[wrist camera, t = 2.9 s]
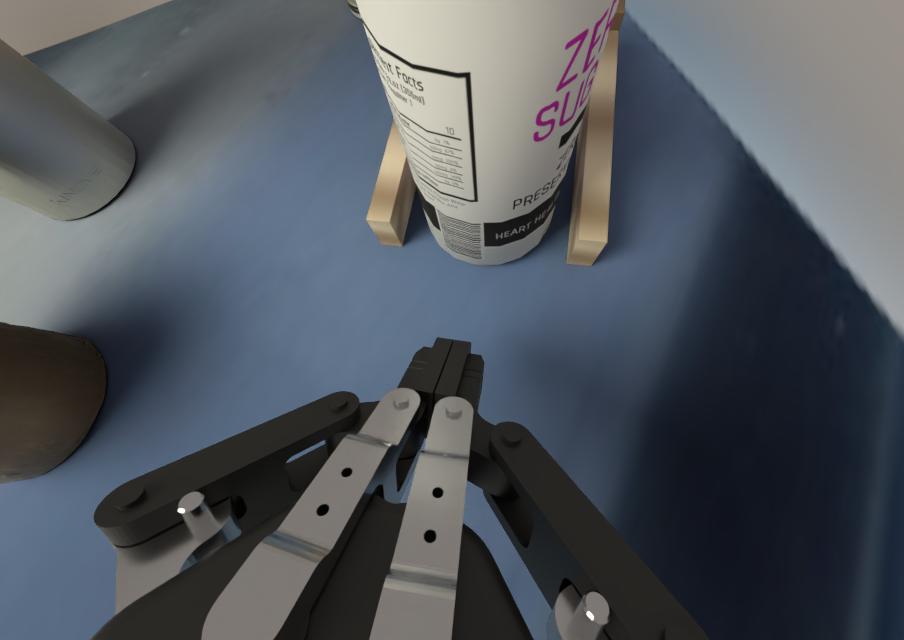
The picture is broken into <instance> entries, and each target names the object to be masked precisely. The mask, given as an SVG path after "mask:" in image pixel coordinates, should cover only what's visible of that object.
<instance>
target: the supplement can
mask: <svg viewBox="0 0 904 640" xmlns="http://www.w3.org/2000/svg"><path fill="white" fill-rule="evenodd" d="M356 3H357V6H358V9H359V12H360V15H361V18H362V22H363V25H364V28H365V31H366V34H367V37H368V40H369V43H370V46H371V49H372V52H373V55H374V58H375V62H376V65H377V68H378V71H379V74H380V77H381V80H382V83H383V86H384V89H385V92H386V95H387V98H388V102H389V105H390V108H391V111H392V114H393V117H394V120H395V123H396V126H397V129H398V132H399V135H400V139H401V142H402V145H403V148H404V151H405V154H406V157H407V160H408V163H409V166H410V169H411V172H412V175H413V179H414V182H415V185H416V188H417V191H418V194H419V197H420V200H421V203H422V206H423V209H424V212H425V215H426V219H427V222H428V225H429V228H430V230H431V232H432V234H433V235H434V237H435V239H436V241H437V242H438V244H439V246H440V247H442V248H443V249H444V250H445V251H447V252H448V253H449V254H451V255H452V256H453V257H454V258H456V259H459V260H462V261H465V262H468V263H471V264H474V265H500V264H503V263H506V262H509V261H512V260H515V259H518V258H521V257H522V256H523V255H525V254H526V253H527V252H529V251H530V250H531V249H533V248H534V247H535V246H537V245H538V243H539V242H540V240H541V239H542V237H543V236H544V234H545V232H546V231H547V229H548V228H549V225H550V222H551V218H552V215H553V212H554V209H555V206H556V202H557V199H558V196H559V193H560V189H561V186H562V183H563V180H564V177H565V173H566V170H567V167H568V164H569V161H570V157H571V154H572V151H573V148H574V144H575V141H576V138H577V135H578V132H579V128H580V125H581V122H582V119H583V115H584V112H585V109H586V106H587V103H588V99H589V96H590V93H591V90H592V86H593V83H594V80H595V77H596V74H597V70H598V67H599V64H600V61H601V57H602V54H603V51H604V48H605V45H606V41H607V38H608V35H609V32H610V28H611V25H612V22H613V19H614V16H615V12H616V9H617V6H618V3H619V0H356Z"/></svg>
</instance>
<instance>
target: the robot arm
mask: <svg viewBox="0 0 904 640" xmlns="http://www.w3.org/2000/svg"><path fill="white" fill-rule="evenodd" d="M134 163H135V148H134V146H133V143H132V141H131V140H130V139H129V138H128V137H127V136H126V135H125V134H123V133H122V132H121V131H120V130H118V129H117V128H116V127H114V126H113V125H112V124H110V123H109V122H108V121H107V120H105V119H104V118H103V117H101V116H100V115H99V114H97V113H96V112H95V111H94V110H92V109H91V108H90V107H88V106H87V105H86V104H84V103H83V102H82V101H81V100H79V99H78V98H77V97H75V96H74V95H73V94H72V93H70V92H69V91H68V90H67V89H65V88H64V87H63V86H61V85H60V84H59V83H57V82H56V81H55V80H54V79H52V78H51V77H50V76H48V75H47V74H46V73H44V72H43V71H42V70H41V69H39V68H38V67H37V66H35V65H34V64H33V63H31V62H30V61H29V60H28V59H26V58H25V57H24V56H22V55H21V54H20V53H18V52H17V51H16V50H15V49H13V48H12V47H11V46H9V45H8V44H7V43H5V42H4V41H3V40H1V39H0V195H1V196H3V197H5V198H7V199H10V200H12V201H14V202H16V203H19V204H21V205H23V206H25V207H28V208H30V209H32V210H34V211H37V212H39V213H41V214H43V215H46V216H48V217H50V218H53V219H57V220H71V219H77V218H80V217H83V216H86V215H88V214H90V213H93V212H95V211H97V210H98V209H100V208H101V207H103V206H104V205H106V204H107V203H108V202H109V201H110V200H112V199H113V198H114V197H115V196H116V195H117V194H118V193H119V191H120V190H121V189H122V188H123V187H124V185H125V184H126V182H127V180H128V179H129V177H130V175H131V173H132V170H133V168H134ZM483 372H484V361H483V359H482V356H481V355H476V354H471V342H466V341H459V340H452V339H445V338H438V337H437V339H436V341H435V343H434V345H433V347H432V348H429V347H423V348H422V349H420V350H419V351H417V352H416V353H415V355H414V357H413V359H412V362H411V363H410V365H409V368H407V370H406V372H405V374H404V376H403V378H402V380H401V382H400V384H399V385H398V387H397V389H393V390H391V391H389V392H388V393H386V394H385V395H384V397H383V398H382V400H381V401H376V402H364V403H359V398H358V397H357V396H356V395H355V394H353V393H351V392H346V391H341V392H336V393H332V394H330V395H328V396H325V397H323V398H321V399H318V400H316V401H314V402H311V403H309V404H307V405H304V406H302V407H300V408H297V409H295V410H293V411H290V412H288V413H286V414H283V415H281V416H279V417H277V418H274V419H272V420H270V421H267V422H265V423H263V424H260V425H258V426H256V427H253V428H251V429H249V430H246V431H244V432H242V433H239V434H237V435H235V436H232V437H230V438H228V439H225V440H223V441H221V442H219V443H216V444H214V445H212V446H209V447H207V448H205V449H202V450H200V451H198V452H195V453H193V454H191V455H188V456H186V457H184V458H181V459H179V460H177V461H174V462H172V463H170V464H167V465H165V466H163V467H160V468H158V469H156V470H154V471H151V472H149V473H147V474H144V475H142V476H140V477H137V478H135V479H133V480H130V481H128V482H126V483H124V484H123V485H121V486H119V487H118V488H116V489H115V490H113V491H112V492H111V493H110V494H109V495H107V496H106V497H105V498H104V499H103V500H102V502H101V503H100V504H99V505H98V507H97V509H96V511H95V513H94V522H95V523H96V525H97V526H98V527H99V528H100V529H101V530H102V532H103V533H104V534H105V535H106V536H107V537H108V538H109V543H110V544H111V545H112V546H113V548H114V549H115V550H116V551H117V575H116V612H115V616H114V617H113V618H112V619H111V620H110V621H108V622H107V623H106V624H105V625H104V626H103V627H102V628H101V629H100V630H99V631H98V632H97V633H96V634H95V635H94V636H93V637H92V638H91V639H90V640H534V639H533V637H532V635H531V633H530V631H529V629H528V627H527V625H526V623H525V621H524V619H523V617H522V615H521V613H520V611H519V609H518V607H517V605H516V603H515V601H514V599H513V597H512V595H511V593H510V591H509V589H508V587H507V585H506V583H505V580H504V578H503V576H502V574H501V572H500V570H499V568H498V566H497V564H496V562H495V560H494V558H493V556H492V554H491V553H490V551H489V549H488V548H487V546H486V545H485V543H484V542H483V541H482V540H481V538H480V537H479V536H478V535H477V534H476V533H475V532H474V531H473V530H472V529H470V528H469V527H468V526H466V525H465V524H463V514H464V504H465V493H466V483H467V480H468V481H469V482H471V483H473V484H475V485H476V486H478V487H480V488H482V489H483V493H484V496H485V498H486V500H487V502H488V503H489V505H490V507H491V508H492V510H493V512H494V513H495V515H496V517H497V518H498V520H499V522H500V523H501V525H502V527H503V528H504V530H505V532H506V533H507V535H508V537H509V538H510V540H511V542H512V543H513V545H514V547H515V548H516V550H517V552H518V553H519V555H520V557H521V559H522V560H523V562H524V564H525V565H526V567H527V569H528V570H529V572H530V574H531V575H532V577H533V579H534V580H535V582H536V584H537V585H538V587H539V589H540V590H541V592H542V594H543V595H544V597H545V599H546V600H547V602H548V604H549V605H550V607H551V609H552V612H551V614H550V617H549V619H548V623H547V640H710V639H709V638H708V637H707V635H706V634H705V632H704V631H703V630H702V629H701V627H700V626H699V625H698V624H697V623H696V622H695V620H694V619H693V618H692V617H691V616H690V615H689V614H688V612H687V611H686V610H685V609H684V608H683V607H682V606H681V604H680V603H679V602H678V601H677V600H676V599H675V598H674V596H673V595H672V594H671V593H670V592H669V591H668V589H667V588H666V587H665V586H664V585H663V584H662V583H661V581H660V580H659V579H658V578H657V577H656V576H655V575H654V573H653V572H652V571H651V570H650V569H649V568H648V567H647V565H646V564H645V563H644V562H643V561H642V560H641V559H640V557H639V556H638V555H637V554H636V553H635V552H634V551H633V549H632V548H631V547H630V546H629V545H628V544H627V543H626V541H625V540H624V539H623V538H622V537H621V536H620V535H619V533H618V532H617V531H616V530H615V529H614V528H613V527H612V525H611V524H610V523H609V522H608V521H607V520H606V519H605V517H604V516H603V515H602V514H601V513H600V512H599V511H598V509H597V508H596V507H595V506H594V505H593V504H592V503H591V501H590V500H589V499H588V498H587V497H586V496H585V495H584V493H583V492H582V491H581V490H580V489H579V488H578V487H577V485H576V484H575V483H574V482H573V481H572V480H571V479H570V477H569V476H568V475H567V474H566V473H565V472H564V471H563V469H562V468H561V467H560V466H559V465H558V464H557V462H556V461H555V460H554V459H553V458H552V457H551V456H550V454H549V453H548V452H547V451H546V450H545V449H544V448H543V446H542V445H541V444H540V443H539V442H538V441H537V440H536V438H535V437H534V436H533V435H532V434H531V433H530V432H529V431H528V430H527V429H526V428H525V427H524V426H522V425H520V424H518V423H514V422H502V423H499V424H497V425H496V426H495V425H493V424H490V423H489V422H487V421H485V420H484V419H483V418H482V417H481V416H480V415H479V414H478V412H477V411H478V406H479V400H480V395H481V390H482V381H483ZM424 438H427V440H426V444H425V448H424V451H421V447H422V444H423V441H424ZM323 440H325V443H326V444H324V445H322V446H320V447H318V448H316V449H314V450H312V451H310V452H309V453H307V454H305V455H303V456H301V457H299V458H297V459H295V460H293V461H291V462H289V463H286V462H287V460H288V459H289V458H291V457H292V456H294V455H296V454H298V453H299V452H301V451H303V450H305V449H307V448H309V447H311V446H313V445H315V444H317V443H319V442H321V441H323ZM416 464H417V466H416ZM415 466H416V470H415V474H414V478H413V482H412V486H411V490H410V494H409V498H408V501H407V503H400V501H401V498H402V496H403V494H404V491H405V489H406V487H407V485H408V482H409V480H410V478H411V475H412V473H413V471H414V469H415Z"/></svg>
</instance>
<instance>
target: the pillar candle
mask: <svg viewBox="0 0 904 640" xmlns="http://www.w3.org/2000/svg"><path fill="white" fill-rule="evenodd" d="M106 374H107V373H106V370H105V366H104V362H103V359H102V357H101V354H100V353H99V352H98V351H97V349H96V348H95V347H94V346H93V344H92V343H91V342H89V341H88V340H87V339H85V338H82V339H81V338H75V337H71V336H70V335H66V334H62V333H57V332H54V331H46V330H41V329H36V328H31V327H25V326H16V325H10V324H7V323H2V322H0V484H2V483H8V482H16V481H21V480H26V479H29V478H32V477H37V476H40V475H42V474H44V473H46V472H48V471H50V470H52V469H53V468H54V467H56V466H57V465H59V464H60V463H61V462H63V461H64V460H65V459H66V458H67V456H69V455H70V454H71V453H72V452H73V451H74V450H75V449H76V448H77V447H78V446H79V445H80V443H81V442H82V440H83V439H84V438H85V436H86V435H87V433H88V431H89V429H90V427H91V425H92V423H93V422H94V420H95V418H96V415H97V413H98V411H99V409H100V407H101V405H102V402H103V399H104V396H105V388H106Z"/></svg>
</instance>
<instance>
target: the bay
mask: <svg viewBox="0 0 904 640" xmlns="http://www.w3.org/2000/svg"><path fill="white" fill-rule="evenodd" d="M624 13H625V0H619V3H618V6H617V9H616V12H615V16H614V19H613V22H612V25H611V28H610V32H609V35H608V38H607V41H606V45H605V48H604V51H603V54H602V57H601V61H600V64H599V67H598V70H597V74H596V77H595V80H594V83H593V86H592V90H591V93H590V96H589V99H588V103H587V106H586V109H585V112H584V115H583V119H582V122H581V125H580V128H579V132H578V140H577V152H576V163H575V174H574V186H573V197H572V208H571V219H570V231H569V242H568V253H567V264H574V265H584V266H592V264H593V263H594V261H595V260H596V258H597V257H598V255H599V254H600V252H601V251H602V249H603V248H604V246H605V245H606V243H607V238H608V220H609V201H610V183H611V164H612V146H613V127H614V109H615V90H616V72H617V53H618V35H619V28H620V25H621V22H622V19H623V16H624ZM415 191H416V185H415V182H414V179H413V175H412V172H411V169H410V166H409V163H408V160H407V157H406V154H405V151H404V148H403V145H402V142H401V139H400V135H399V132H398V129H397V126H396V123H395V120H394V121H393V124H392V128H391V131H390V135H389V139H388V142H387V146H386V150H385V153H384V157H383V161H382V164H381V168H380V171H379V175H378V179H377V182H376V186H375V190H374V193H373V197H372V201H371V204H370V208H369V212H368V215H367V219H366V220H367V222H368V223H369V225H370V227H371V228H372V230H373V231H374V233H375V235H376V236H377V238H378V239H379V241H380V242H381V244H382V245H392V246H403V241H404V237H405V233H406V229H407V225H408V220H409V216H410V212H411V208H412V203H413V199H414V195H415Z"/></svg>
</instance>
